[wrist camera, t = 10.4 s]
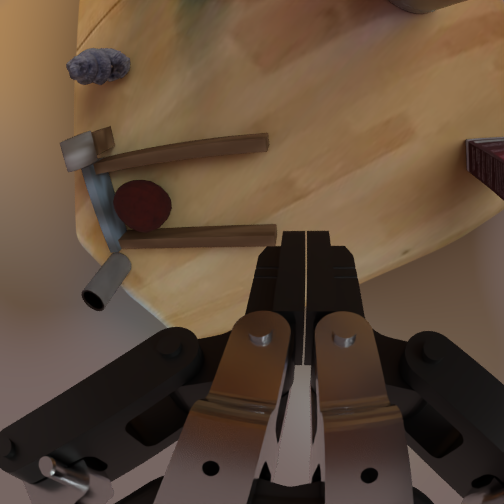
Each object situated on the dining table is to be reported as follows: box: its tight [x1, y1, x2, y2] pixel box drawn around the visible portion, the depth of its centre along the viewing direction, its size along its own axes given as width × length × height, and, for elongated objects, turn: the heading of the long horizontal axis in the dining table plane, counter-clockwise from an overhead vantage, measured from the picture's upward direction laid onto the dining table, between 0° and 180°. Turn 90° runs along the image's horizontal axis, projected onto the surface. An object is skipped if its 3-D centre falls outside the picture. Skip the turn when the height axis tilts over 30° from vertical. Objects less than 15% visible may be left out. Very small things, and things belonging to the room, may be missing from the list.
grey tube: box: [82, 253, 131, 311], centre depth 44 cm, size 4×4×10 cm
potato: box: [113, 180, 172, 233], centre depth 37 cm, size 7×8×7 cm
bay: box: [60, 126, 277, 253], centre depth 34 cm, size 19×26×8 cm
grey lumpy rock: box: [66, 48, 130, 85], centre depth 24 cm, size 5×5×10 cm
